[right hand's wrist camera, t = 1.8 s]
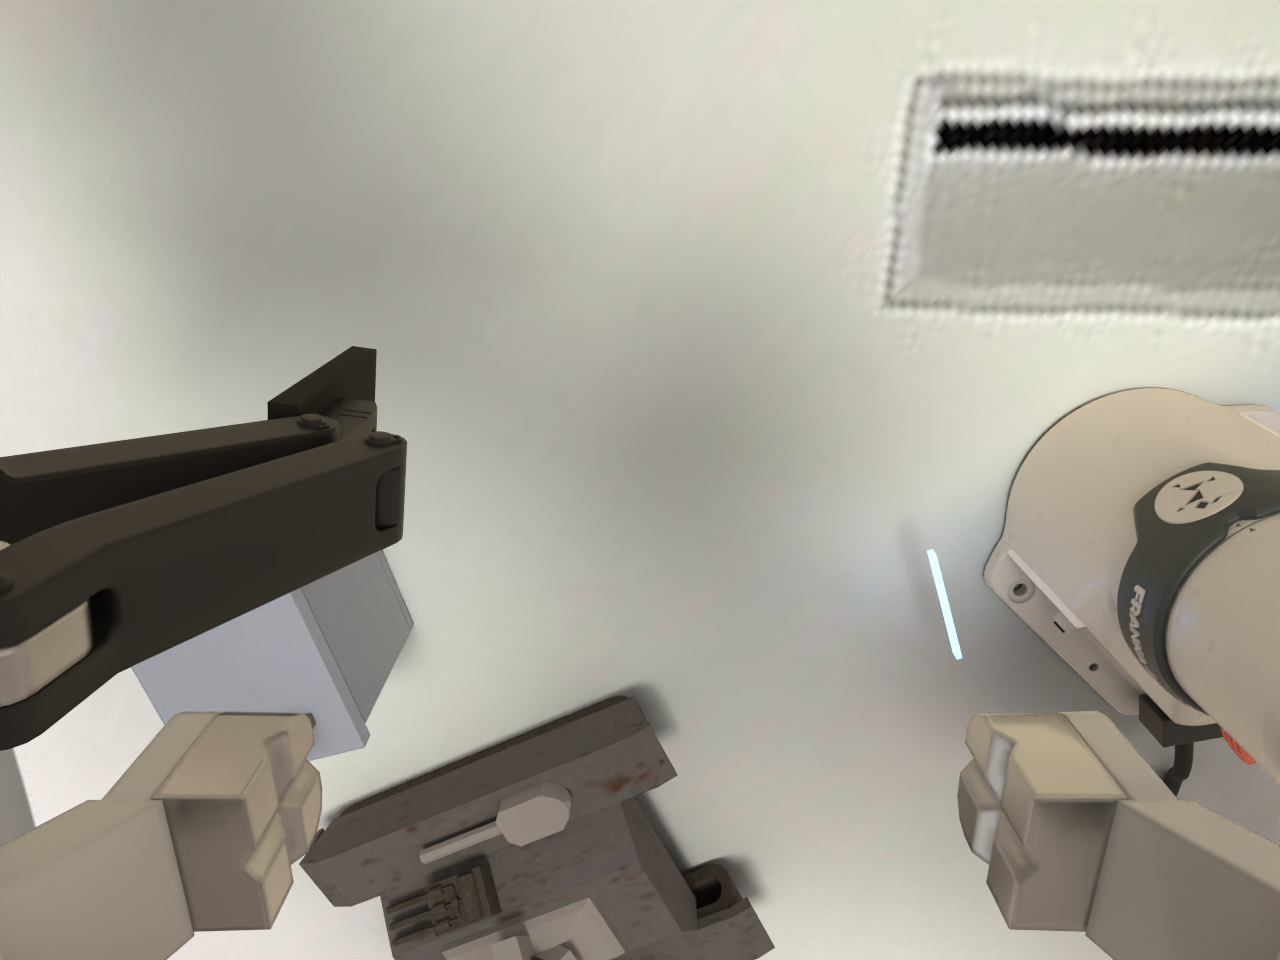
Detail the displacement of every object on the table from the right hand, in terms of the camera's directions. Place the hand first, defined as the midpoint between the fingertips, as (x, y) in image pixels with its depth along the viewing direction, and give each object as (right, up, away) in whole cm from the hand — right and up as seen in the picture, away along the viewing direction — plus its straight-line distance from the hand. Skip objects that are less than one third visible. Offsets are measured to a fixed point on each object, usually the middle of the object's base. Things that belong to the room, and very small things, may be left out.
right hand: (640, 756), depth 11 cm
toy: (-6, -23, +51) cm, 57 cm away
